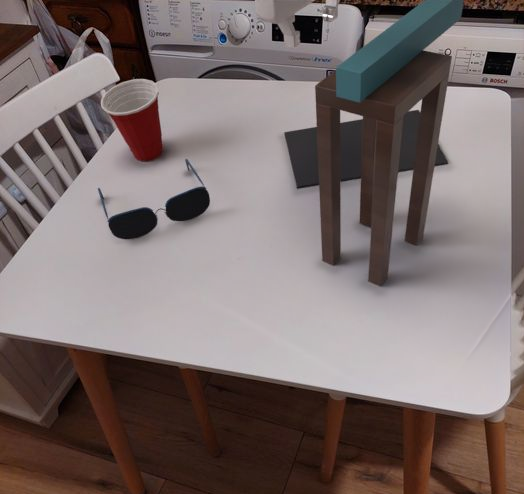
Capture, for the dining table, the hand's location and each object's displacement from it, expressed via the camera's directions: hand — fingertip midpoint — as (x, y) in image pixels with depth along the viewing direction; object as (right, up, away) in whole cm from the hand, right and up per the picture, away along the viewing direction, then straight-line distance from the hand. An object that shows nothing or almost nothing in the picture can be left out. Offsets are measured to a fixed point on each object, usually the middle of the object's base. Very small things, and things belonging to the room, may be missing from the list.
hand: (311, 32), depth 75 cm
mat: (+11, -10, +18) cm, 23 cm away
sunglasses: (-26, -21, +15) cm, 37 cm away
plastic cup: (-30, -8, +26) cm, 40 cm away
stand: (+9, -32, +2) cm, 33 cm away
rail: (+9, -13, -17) cm, 24 cm away
